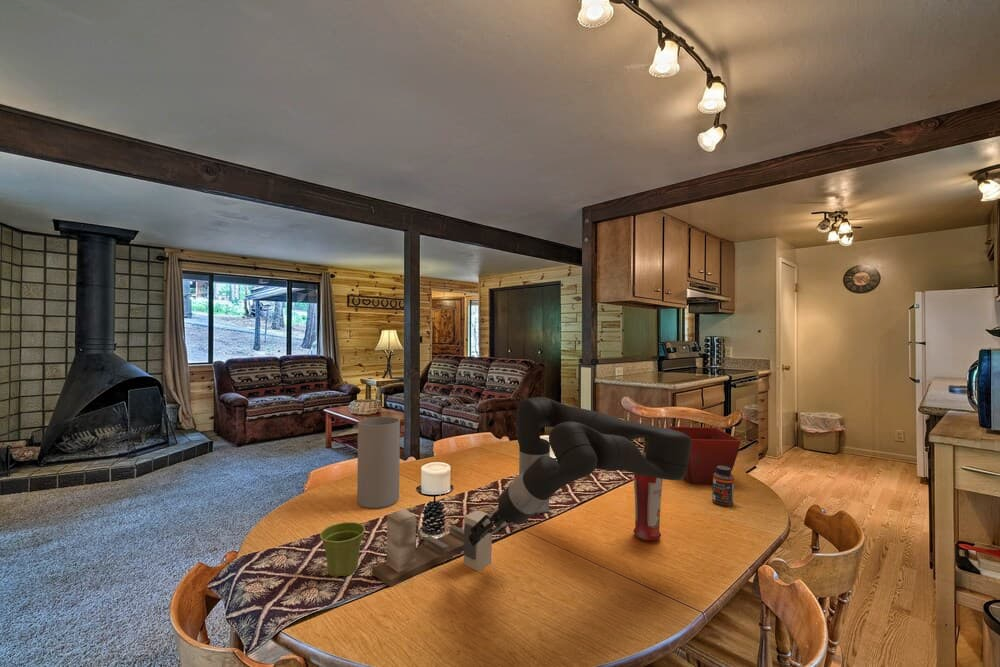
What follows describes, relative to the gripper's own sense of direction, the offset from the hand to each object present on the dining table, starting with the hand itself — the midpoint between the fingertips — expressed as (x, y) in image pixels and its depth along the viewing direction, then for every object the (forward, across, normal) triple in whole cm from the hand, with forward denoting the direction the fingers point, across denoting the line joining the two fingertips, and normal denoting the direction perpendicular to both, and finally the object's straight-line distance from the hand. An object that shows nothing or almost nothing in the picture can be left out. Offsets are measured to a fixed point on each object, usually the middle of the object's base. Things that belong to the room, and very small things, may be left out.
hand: (485, 534), depth 98 cm
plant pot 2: (-4, +98, -17) cm, 100 cm away
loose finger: (+8, +1, -3) cm, 8 cm away
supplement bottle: (-13, +79, -26) cm, 84 cm away
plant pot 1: (+22, -22, +11) cm, 33 cm away
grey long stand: (+15, -6, +4) cm, 16 cm away
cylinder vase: (+41, +5, +31) cm, 52 cm away
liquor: (-8, +40, -20) cm, 46 cm away
